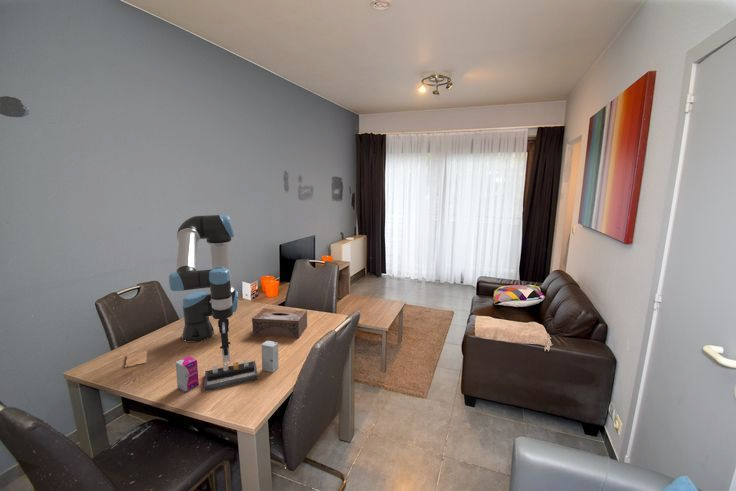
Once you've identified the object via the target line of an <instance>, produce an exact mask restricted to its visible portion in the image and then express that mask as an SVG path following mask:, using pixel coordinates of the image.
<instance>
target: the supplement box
mask: <svg viewBox="0 0 736 491" xmlns="http://www.w3.org/2000/svg"><path fill="white" fill-rule="evenodd" d="M175 373H176V384H177V385H176V386H177V389H178V388H179V390H180V389H181V390H180V391H182V390H183V391H184V392H183V391H182V392H183V393H187V392H189V391H190V389H191V390H193V389H195V388H196V386H197V387H199V386H198V385H200V380H199V370H198V360H197V359H195V358H193V357H192V356H190V355H188V356H186V357H184V358H181V359H179V360H177V361H175ZM194 387H195V388H194ZM192 388H193V389H192ZM188 390H189V391H188ZM186 391H187V392H186Z"/></svg>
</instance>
